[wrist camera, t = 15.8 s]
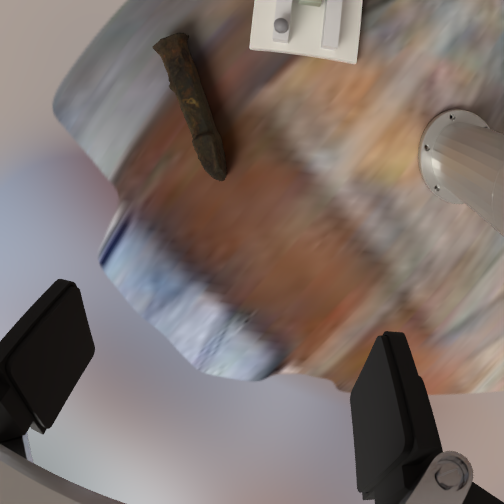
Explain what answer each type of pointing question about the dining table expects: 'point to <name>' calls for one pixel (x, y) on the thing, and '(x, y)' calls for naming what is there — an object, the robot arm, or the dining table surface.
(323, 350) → the dining table surface
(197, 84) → the hand tool
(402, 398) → the robot arm
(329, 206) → the dining table surface
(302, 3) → the rectangular block
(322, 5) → the slider channel
